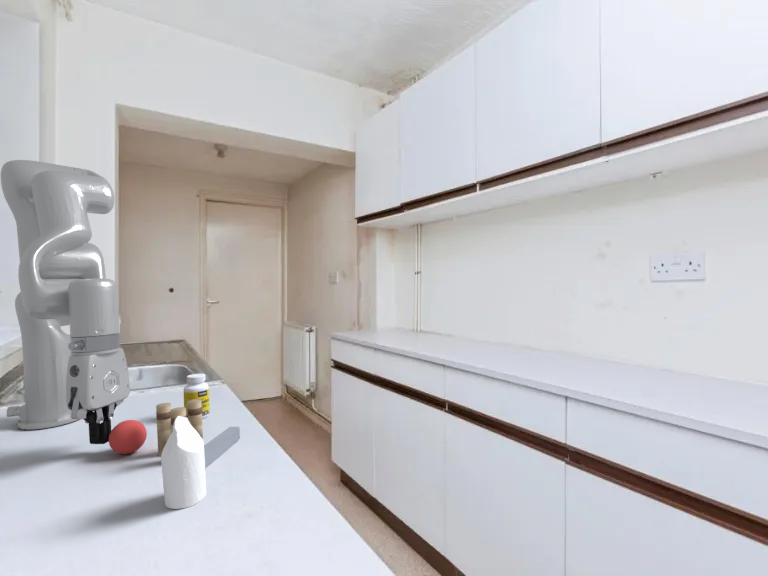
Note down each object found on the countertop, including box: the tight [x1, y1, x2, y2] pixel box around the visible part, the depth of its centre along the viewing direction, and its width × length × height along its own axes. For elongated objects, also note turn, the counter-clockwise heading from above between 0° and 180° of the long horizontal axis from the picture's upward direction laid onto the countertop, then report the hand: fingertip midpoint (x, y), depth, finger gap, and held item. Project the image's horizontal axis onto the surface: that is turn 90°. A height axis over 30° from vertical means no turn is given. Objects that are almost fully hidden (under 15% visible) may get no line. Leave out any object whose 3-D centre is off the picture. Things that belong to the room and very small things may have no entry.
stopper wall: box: [204, 426, 241, 469], centre depth 75 cm, size 2×14×2 cm, turn 173°
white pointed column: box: [160, 416, 207, 510], centre depth 59 cm, size 6×12×6 cm
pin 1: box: [171, 406, 187, 432], centre depth 73 cm, size 2×2×9 cm
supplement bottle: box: [183, 373, 210, 420], centre depth 96 cm, size 5×5×10 cm
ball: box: [108, 419, 148, 455], centre depth 76 cm, size 6×6×6 cm
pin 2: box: [187, 399, 204, 440], centre depth 78 cm, size 2×2×9 cm
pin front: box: [155, 402, 172, 457], centre depth 76 cm, size 2×2×9 cm
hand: (100, 442), depth 77 cm, fingers closed
